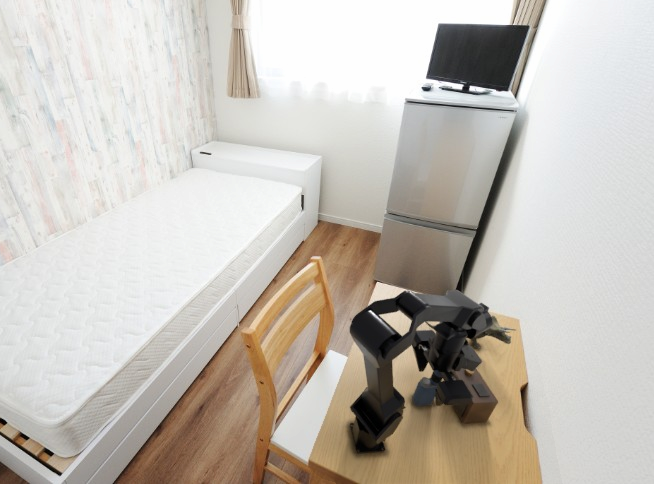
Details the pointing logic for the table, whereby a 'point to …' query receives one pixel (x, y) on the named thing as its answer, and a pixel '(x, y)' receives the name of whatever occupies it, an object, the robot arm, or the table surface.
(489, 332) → the toy dinosaur
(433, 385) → the vaping device
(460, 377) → the radio
